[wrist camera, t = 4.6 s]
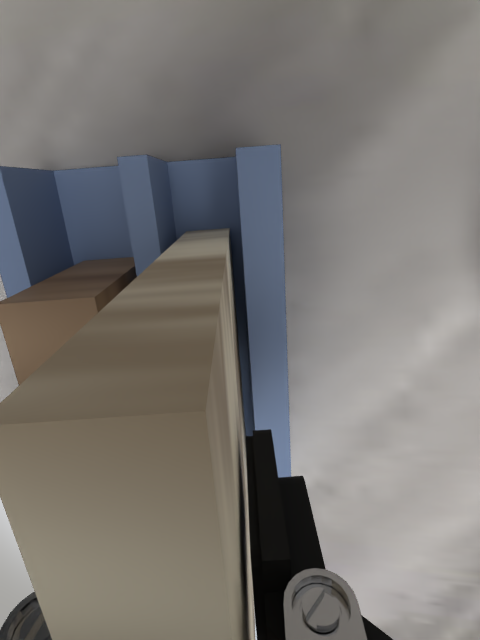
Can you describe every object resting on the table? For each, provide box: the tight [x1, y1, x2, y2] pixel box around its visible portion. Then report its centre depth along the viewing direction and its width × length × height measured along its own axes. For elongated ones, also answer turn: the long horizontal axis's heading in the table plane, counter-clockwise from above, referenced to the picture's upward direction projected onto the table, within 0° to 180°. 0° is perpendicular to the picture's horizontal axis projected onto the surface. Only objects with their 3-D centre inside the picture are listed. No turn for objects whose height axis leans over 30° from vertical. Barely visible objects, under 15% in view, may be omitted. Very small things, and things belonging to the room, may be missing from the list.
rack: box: [0, 144, 291, 478], centre depth 18 cm, size 18×10×5 cm, turn 4°
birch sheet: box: [0, 228, 255, 640], centre depth 12 cm, size 12×2×15 cm, turn 4°
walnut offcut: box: [0, 257, 137, 385], centre depth 16 cm, size 10×3×7 cm, turn 4°
